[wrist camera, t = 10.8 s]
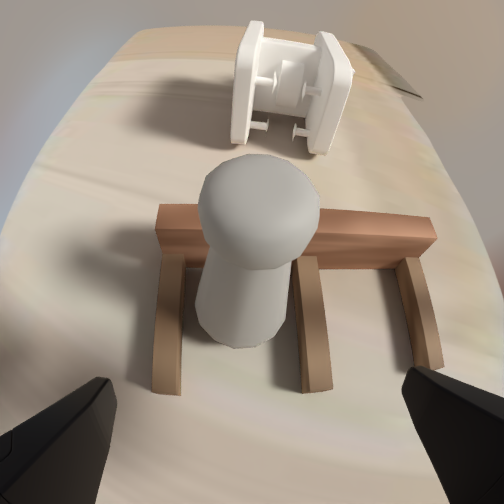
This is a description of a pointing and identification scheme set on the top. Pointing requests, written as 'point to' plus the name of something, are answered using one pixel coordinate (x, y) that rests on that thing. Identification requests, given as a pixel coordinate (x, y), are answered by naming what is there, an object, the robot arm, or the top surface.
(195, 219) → the wooden letter e
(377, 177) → the top surface
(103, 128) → the top surface
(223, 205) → the salt shaker
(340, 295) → the top surface
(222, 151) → the top surface
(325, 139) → the cable organizer
